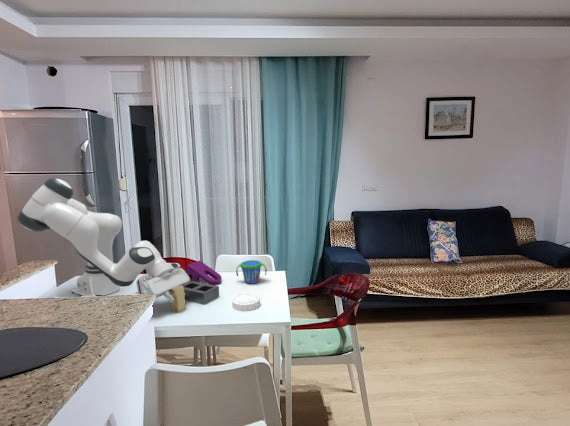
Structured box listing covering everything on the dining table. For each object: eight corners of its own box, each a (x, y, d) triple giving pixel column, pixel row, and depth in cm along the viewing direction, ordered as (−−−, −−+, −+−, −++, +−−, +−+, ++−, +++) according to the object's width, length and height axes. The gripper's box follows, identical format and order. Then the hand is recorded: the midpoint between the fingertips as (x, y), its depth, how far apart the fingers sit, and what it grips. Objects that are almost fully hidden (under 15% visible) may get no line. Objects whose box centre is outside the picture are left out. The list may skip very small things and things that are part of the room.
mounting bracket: (220, 291, 184) (195, 273, 190) (225, 278, 181) (199, 260, 187) (208, 297, 175) (183, 278, 181) (213, 284, 173) (187, 265, 179)
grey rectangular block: (165, 295, 164) (164, 285, 163) (181, 288, 172) (180, 278, 171) (204, 304, 152) (204, 293, 151) (219, 296, 161) (218, 286, 160)
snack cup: (234, 285, 175) (233, 265, 174) (239, 278, 185) (238, 259, 184) (265, 285, 173) (264, 266, 172) (268, 278, 184) (267, 260, 182)
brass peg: (171, 311, 146) (169, 288, 145) (178, 307, 150) (176, 285, 148) (178, 313, 144) (176, 290, 143) (185, 309, 148) (183, 286, 146)
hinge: (145, 296, 163) (138, 276, 163) (139, 298, 165) (132, 278, 165) (172, 285, 177) (166, 266, 177) (166, 286, 179) (161, 268, 180)
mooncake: (231, 312, 144) (230, 304, 144) (233, 300, 156) (233, 293, 156) (260, 311, 145) (259, 302, 145) (260, 299, 157) (259, 292, 156)
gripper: (143, 276, 139) (162, 303, 135) (181, 262, 156) (198, 286, 153) (136, 284, 141) (155, 312, 138) (174, 270, 159) (192, 294, 156)
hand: (178, 298), depth 146 cm, fingers closed on brass peg, 4 cm apart
